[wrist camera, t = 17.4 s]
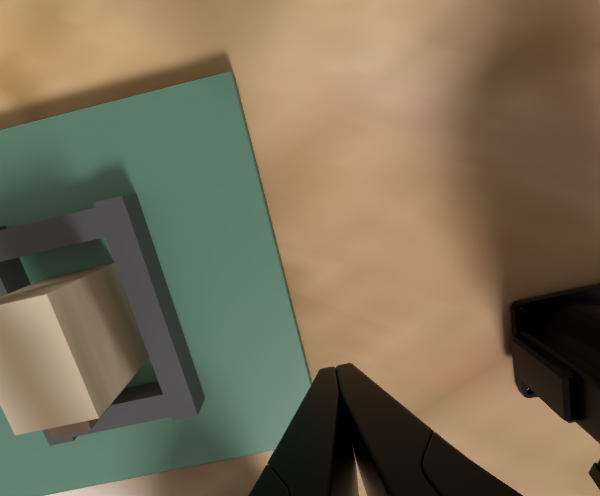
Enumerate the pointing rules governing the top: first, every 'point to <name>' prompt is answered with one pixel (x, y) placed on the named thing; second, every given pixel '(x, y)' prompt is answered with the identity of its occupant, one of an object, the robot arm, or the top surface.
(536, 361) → the robot arm
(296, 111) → the top surface
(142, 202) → the socket board
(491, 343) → the top surface
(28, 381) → the plug
